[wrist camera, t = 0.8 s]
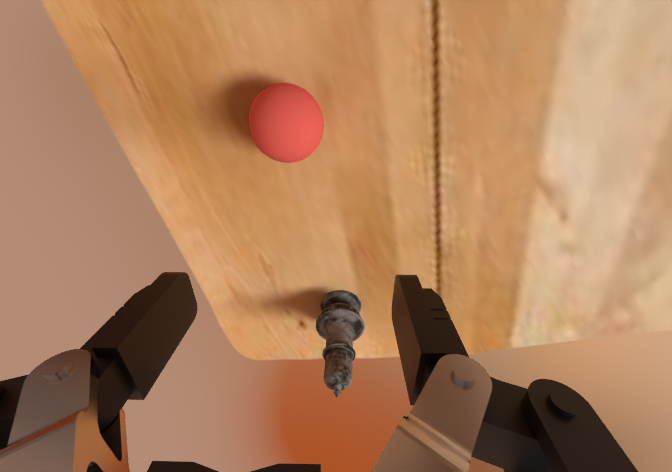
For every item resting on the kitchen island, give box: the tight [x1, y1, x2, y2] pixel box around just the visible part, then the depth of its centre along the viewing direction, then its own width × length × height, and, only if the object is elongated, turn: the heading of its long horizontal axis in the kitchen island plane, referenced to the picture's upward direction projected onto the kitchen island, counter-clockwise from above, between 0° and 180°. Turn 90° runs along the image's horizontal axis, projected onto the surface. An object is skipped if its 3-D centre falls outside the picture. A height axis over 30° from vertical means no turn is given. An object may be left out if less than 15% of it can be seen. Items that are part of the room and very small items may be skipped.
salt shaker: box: [316, 290, 365, 397], centre depth 32 cm, size 6×6×12 cm
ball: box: [248, 83, 324, 163], centre depth 23 cm, size 6×6×6 cm
